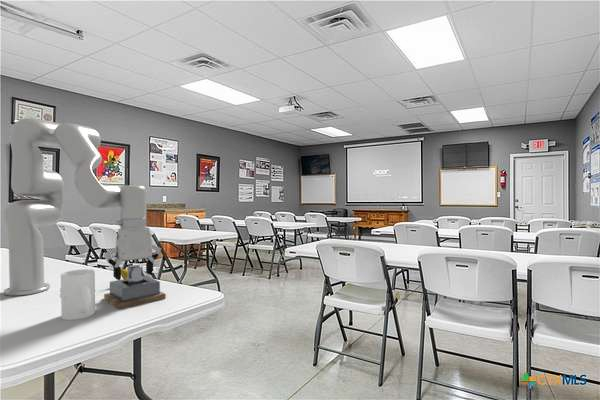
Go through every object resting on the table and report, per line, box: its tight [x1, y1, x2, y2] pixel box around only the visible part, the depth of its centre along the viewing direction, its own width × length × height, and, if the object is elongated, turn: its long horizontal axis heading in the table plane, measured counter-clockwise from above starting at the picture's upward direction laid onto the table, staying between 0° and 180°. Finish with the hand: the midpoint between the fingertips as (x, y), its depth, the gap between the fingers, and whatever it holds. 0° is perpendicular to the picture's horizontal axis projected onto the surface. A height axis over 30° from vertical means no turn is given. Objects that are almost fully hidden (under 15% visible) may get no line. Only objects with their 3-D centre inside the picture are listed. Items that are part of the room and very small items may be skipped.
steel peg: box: [127, 264, 144, 285], centre depth 112 cm, size 4×4×9 cm
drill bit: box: [121, 268, 128, 280], centre depth 129 cm, size 5×5×10 cm
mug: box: [59, 268, 96, 321], centre depth 95 cm, size 8×12×12 cm
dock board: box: [103, 290, 167, 310], centre depth 112 cm, size 14×14×2 cm
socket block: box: [109, 275, 161, 302], centre depth 112 cm, size 11×11×4 cm
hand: (134, 276), depth 112 cm, fingers open, 9 cm apart
